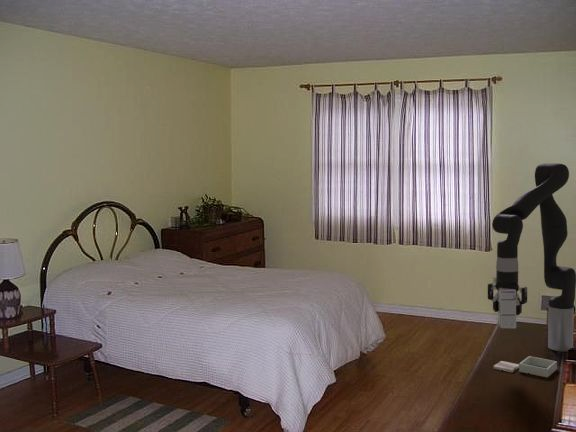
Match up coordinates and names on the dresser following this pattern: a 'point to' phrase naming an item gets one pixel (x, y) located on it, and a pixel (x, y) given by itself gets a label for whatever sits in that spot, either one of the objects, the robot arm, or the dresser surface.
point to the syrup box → (507, 308)
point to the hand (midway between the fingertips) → (507, 313)
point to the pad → (506, 366)
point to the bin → (527, 368)
